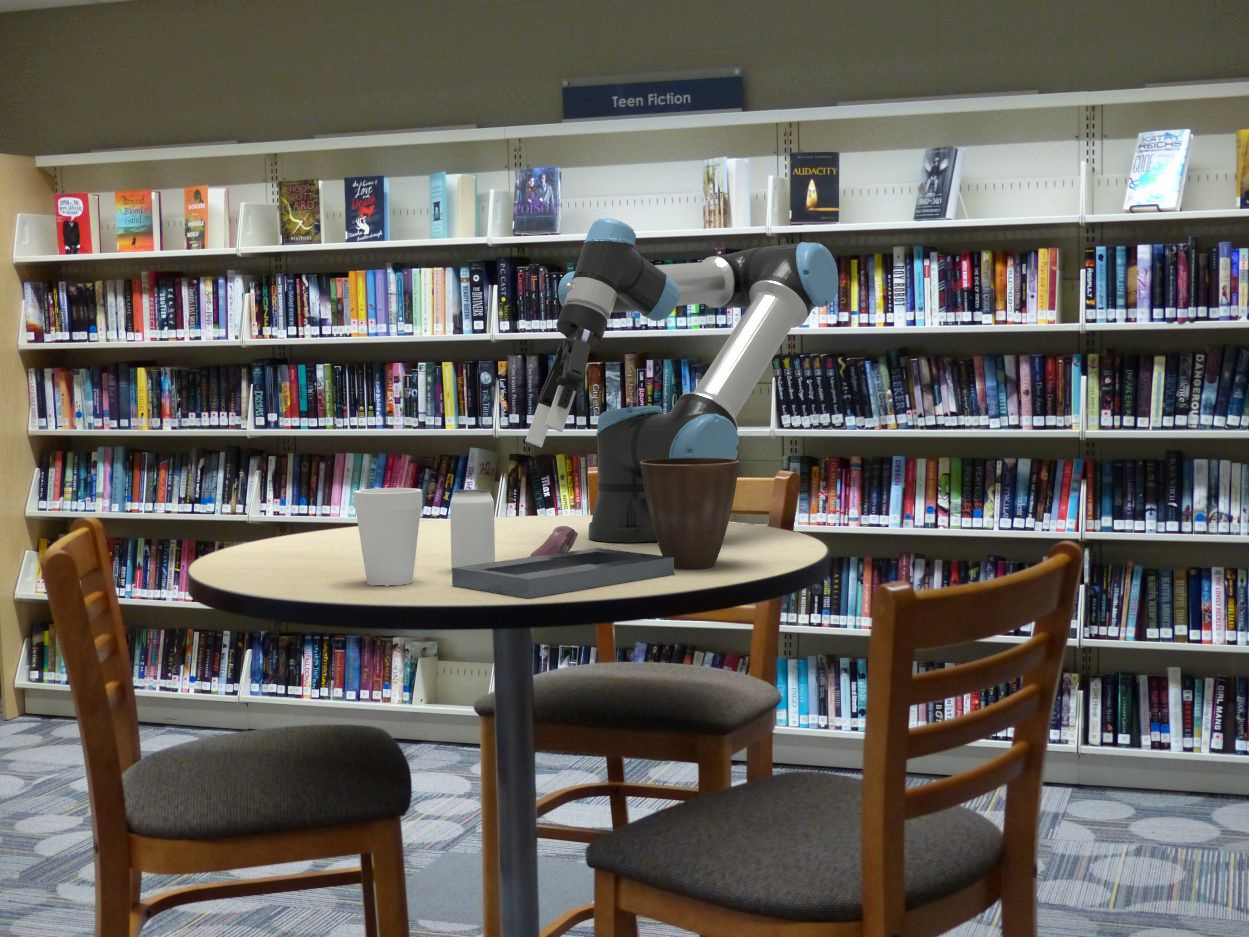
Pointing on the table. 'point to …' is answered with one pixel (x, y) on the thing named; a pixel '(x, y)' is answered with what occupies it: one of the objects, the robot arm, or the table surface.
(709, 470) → the plant pot
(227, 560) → the table surface
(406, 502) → the foam cup
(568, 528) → the video game controller
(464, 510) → the can
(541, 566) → the keyhole plate
